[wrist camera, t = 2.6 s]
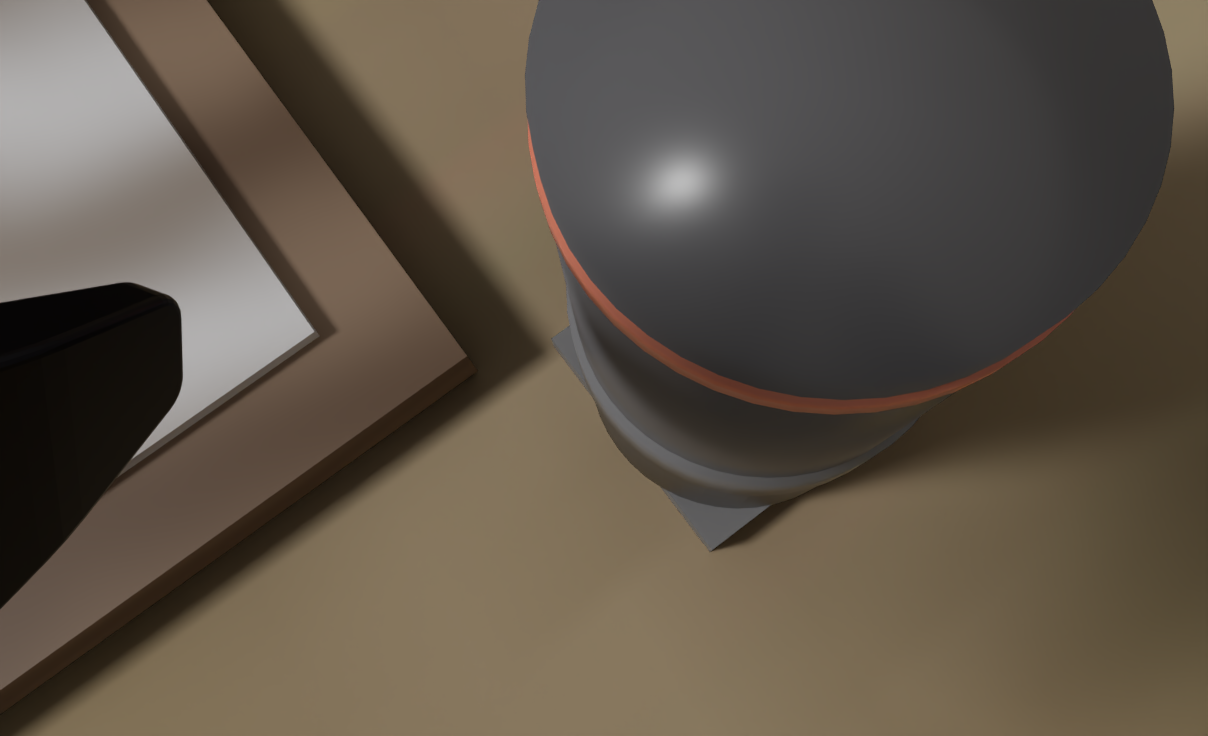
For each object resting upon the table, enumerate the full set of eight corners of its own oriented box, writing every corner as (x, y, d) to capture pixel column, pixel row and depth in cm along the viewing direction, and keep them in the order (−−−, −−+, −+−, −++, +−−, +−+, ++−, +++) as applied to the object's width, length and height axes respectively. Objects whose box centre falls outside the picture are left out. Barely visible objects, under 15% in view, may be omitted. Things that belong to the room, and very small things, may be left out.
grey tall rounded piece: (940, 398, 19) (1333, 126, 8) (706, 578, 18) (796, 543, 7) (754, 181, 20) (882, -306, 9) (529, 343, 19) (388, 21, 9)
